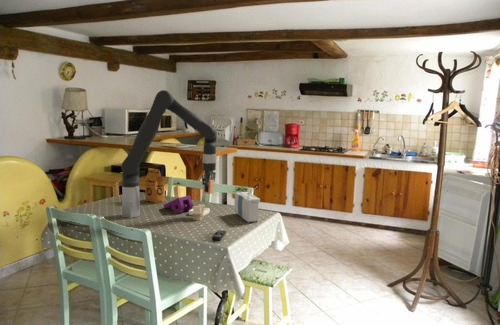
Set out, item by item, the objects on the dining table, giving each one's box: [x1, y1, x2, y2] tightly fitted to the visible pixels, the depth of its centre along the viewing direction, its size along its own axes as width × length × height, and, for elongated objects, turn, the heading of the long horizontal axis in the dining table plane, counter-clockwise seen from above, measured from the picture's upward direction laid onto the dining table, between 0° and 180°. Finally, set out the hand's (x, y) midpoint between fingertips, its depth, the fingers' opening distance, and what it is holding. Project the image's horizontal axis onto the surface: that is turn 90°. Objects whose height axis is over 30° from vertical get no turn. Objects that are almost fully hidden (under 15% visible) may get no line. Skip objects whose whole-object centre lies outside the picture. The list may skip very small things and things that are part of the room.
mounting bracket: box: [162, 195, 194, 214], centre depth 237 cm, size 9×8×18 cm
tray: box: [188, 207, 211, 217], centre depth 229 cm, size 9×9×3 cm
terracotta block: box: [202, 180, 215, 195], centre depth 225 cm, size 4×4×8 cm
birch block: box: [192, 204, 205, 221], centre depth 218 cm, size 4×4×8 cm
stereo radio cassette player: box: [234, 185, 261, 223], centre depth 222 cm, size 21×8×20 cm, turn 21°
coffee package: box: [144, 167, 165, 204], centre depth 256 cm, size 10×12×22 cm
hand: (208, 191), depth 225 cm, fingers closed on terracotta block, 4 cm apart
